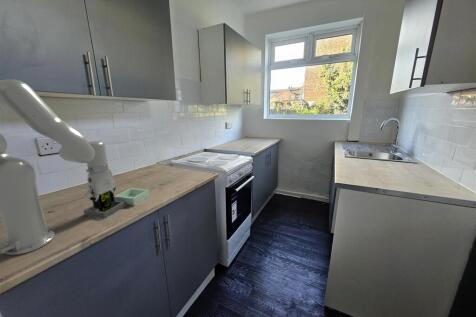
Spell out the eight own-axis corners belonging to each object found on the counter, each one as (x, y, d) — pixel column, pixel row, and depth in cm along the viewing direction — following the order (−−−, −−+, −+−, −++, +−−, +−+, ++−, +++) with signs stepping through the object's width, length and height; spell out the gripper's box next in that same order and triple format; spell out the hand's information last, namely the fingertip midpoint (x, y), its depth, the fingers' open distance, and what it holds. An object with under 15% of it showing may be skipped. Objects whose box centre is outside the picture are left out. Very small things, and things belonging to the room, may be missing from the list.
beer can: (96, 211, 93) (92, 188, 90) (108, 207, 97) (104, 184, 95) (102, 214, 90) (98, 190, 88) (114, 209, 95) (111, 186, 92)
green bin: (134, 205, 98) (133, 198, 97) (115, 203, 101) (114, 196, 100) (149, 196, 109) (148, 189, 108) (132, 194, 112) (131, 188, 111)
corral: (105, 218, 87) (104, 213, 86) (84, 215, 90) (83, 210, 89) (125, 206, 98) (124, 201, 97) (106, 204, 101) (105, 199, 100)
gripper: (86, 175, 80) (94, 214, 84) (120, 164, 96) (125, 197, 100) (72, 173, 82) (80, 212, 86) (108, 163, 98) (113, 196, 102)
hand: (104, 204), depth 93 cm, fingers open, 6 cm apart
